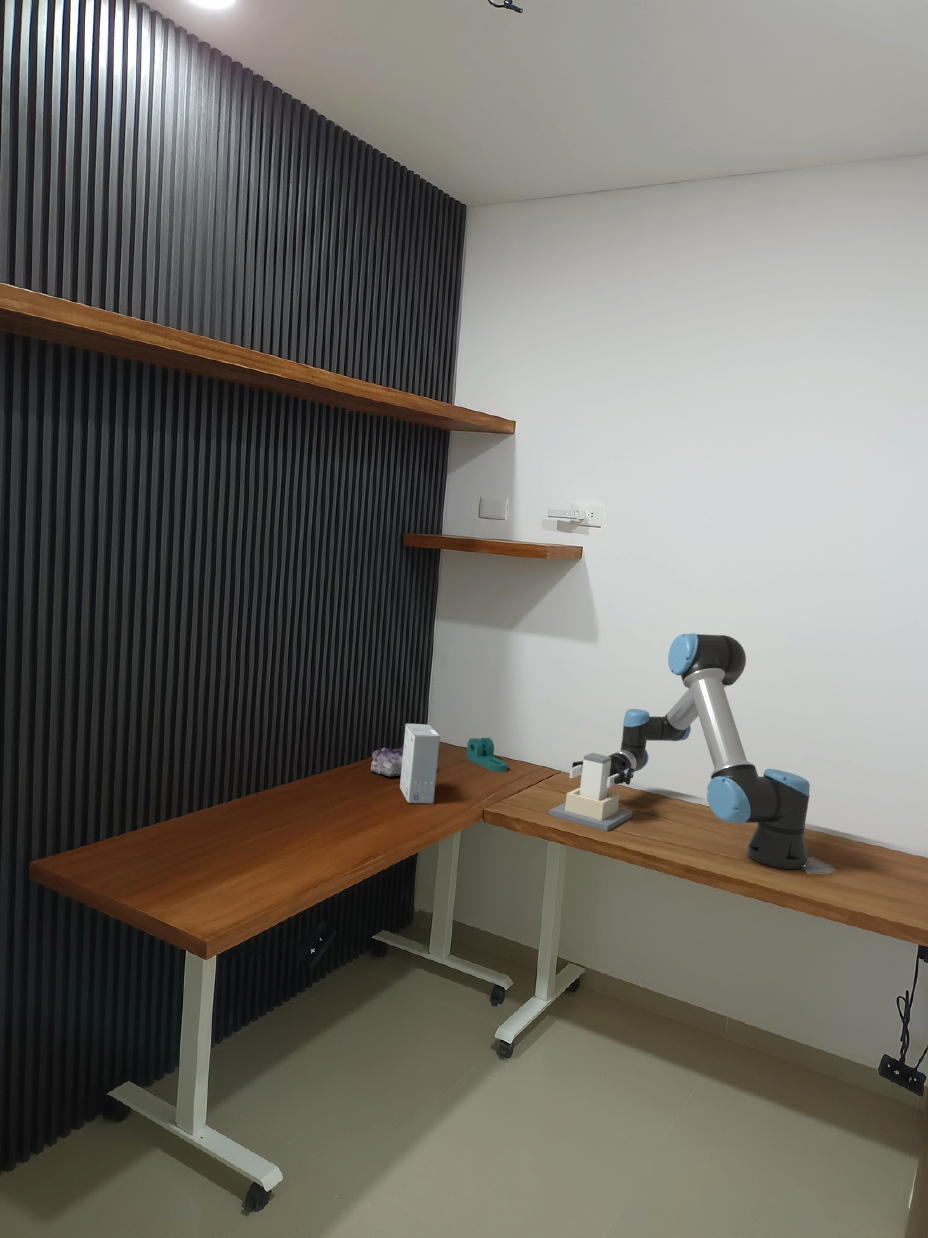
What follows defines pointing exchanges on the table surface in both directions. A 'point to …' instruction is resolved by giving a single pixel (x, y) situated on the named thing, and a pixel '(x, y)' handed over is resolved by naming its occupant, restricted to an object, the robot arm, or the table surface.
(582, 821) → the holder
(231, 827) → the table surface
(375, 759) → the geode
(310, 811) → the table surface
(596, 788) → the white grey-topped block
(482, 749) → the bracket
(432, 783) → the hard drive box
